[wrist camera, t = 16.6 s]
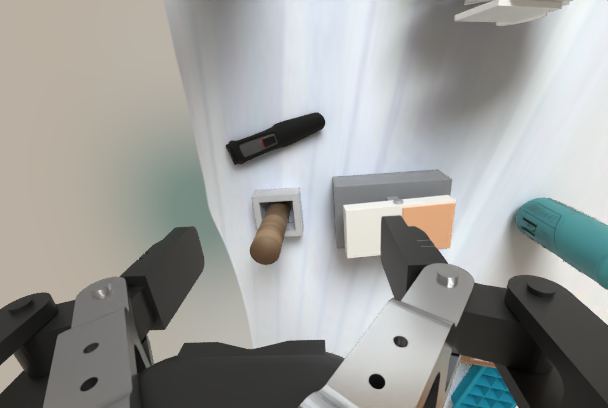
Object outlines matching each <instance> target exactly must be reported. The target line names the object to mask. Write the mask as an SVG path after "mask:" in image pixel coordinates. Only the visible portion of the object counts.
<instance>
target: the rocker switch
mask: <svg viewBox="0 0 608 408" xmlns="http://www.w3.org/2000/svg"><path fill="white" fill-rule="evenodd" d="M455 206H456V200H455V199H454V198H452V197H450V196H449V195H441V196H431V197H421V198H411V199H394V200H390V201H380V202H370V203H360V204H349V205H343V212H344V239H345V252H346V255H347V258H357V257H367V256H377V255H381V251H380V246H381V218H382V216H396V215H401V216H402V218H403V219H404V221H405V222H406V224H407V225H408V226H416V227H417V228H419V229H421V230H423V231H424V232H425V233H426V234H427V235H428V237H429V238H430V241H432V242H433V244H434V245H435V247H436V248H437V249H447V248H450V246H451V238H452V230H453V222H454V214H455Z"/></svg>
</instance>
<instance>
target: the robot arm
mask: <svg viewBox="0 0 608 408" xmlns="http://www.w3.org/2000/svg"><path fill="white" fill-rule="evenodd" d="M380 251H381V260H382V264H383V267H384V270H385V273H386V276H387V278H388V281H389V284H390V287H391V290H392V292H393V295H394V298H395V299H394V298H392V299H390V300H389V301H388V302H387V304H386V305H385V306H384V308H383V309H382V310H381V312H380V313H379V314H378V316H377V317H376V318H375V320H374V321H373V322H372V324H371V325H370V326H369V328H368V329H367V330H366V332H365V333H364V334H363V336H362V337H361V338H360V340H359V341H358V342H357V344H356V345H355V346H354V348H353V349H352V350H351V352H350V353H349V354H348V356H347V357H346V358H343V357H341V356H338V355H335V354H332V353H328V352H326V350H325V340H296V341H286V342H281V343H277V344H273V345H269V346H265V347H261V348H256V349H245V348H240V347H236V346H232V345H228V344H223V343H219V342H207V343H206V342H203V343H184V344H183V346H182V348H181V350H180V352H179V354H178V355H177V356H174V357H171V358H168V359H165V360H163V361H160V362H158V363H156V364H154V362H153V356H152V351H151V346H150V341H149V339H148V336H147V333H148V332H149V330H165V329H166V327H167V326H168V324H169V322H170V321H171V319H172V318H173V316H174V315H175V313H176V312H177V310H178V308H179V307H180V305H181V304H182V302H183V301H184V299H185V298H186V296H187V294H188V293H189V291H190V290H191V288H192V286H193V285H194V283H195V282H196V280H197V279H198V277H199V276H200V274H201V273H202V271H203V268H204V256H203V252H202V248H201V244H200V240H199V237H198V233H197V230H196V229H195V227H193V226H192V227H177V228H174V229H173V230H172V231H171V232H170V233H169V234H168V235H167V236H166V237H165V238H164V239H163V240H161V241H160V242H158V243H156V244H154V245H153V246H152V247H151V248H149V249H148V250H147V251H146V252H145V254H143V255H142V256H141V257H140V258H139V260H137V261H136V262H135V263H134V264H132V265H131V266H130V267H129V268H128V269H127V270H126V271H125V272H124V273H123V274H122V275H121V276H120V277H111V278H106V279H102V280H100V281H97V282H95V283H93V284H91V285H89V286H88V287H86V288H85V289H83V290H82V291H81V292H80V293H79V294H78V295H77V297H76V299H75V300H73V301H68V302H64V303H60V304H55V303H54V301H53V299H52V297H51V295H50V294H49V293H36V294H32V295H28V296H25V297H23V298H20V299H18V300H16V301H14V302H12V303H10V304H8V305H6V306H5V307H3V308H2V309H0V365H1V364H2V363H3V362H4V361H5V360H7V359H8V358H9V357H10V356H11V355H12V354H14V356H15V357H16V358H17V360H18V362H19V363H20V364H21V366H22V367H23V369H24V371H23V372H22V373H21V374H20V375H19V376H18V377H17V378H16V379H15V380H14V381H13V382H12V383H11V384H10V385H9V386H8V387H7V388H6V389H5V390H4V391H3V392H2V393H1V394H0V408H443V407H444V404H445V401H446V398H447V395H448V393H449V390H450V387H451V384H452V381H453V379H454V376H455V373H456V370H457V367H458V365H459V362H460V359H461V356H462V355H464V356H468V357H472V358H476V359H480V360H484V361H488V362H492V363H494V365H495V367H496V369H497V370H498V372H499V374H500V376H501V377H502V379H503V381H504V383H505V384H506V386H507V388H508V390H509V392H510V393H511V395H512V397H513V399H514V400H515V402H516V404H517V406H518V408H608V325H607V324H606V323H605V322H603V321H602V320H601V319H600V318H599V317H598V316H597V315H595V314H594V313H593V312H592V311H591V310H590V309H589V308H588V307H586V306H585V305H584V304H583V303H582V302H581V301H580V300H578V299H577V298H576V297H575V296H574V295H573V294H572V293H571V292H569V291H568V290H567V289H566V288H564V287H562V286H561V285H559V284H557V283H555V282H553V281H550V280H547V279H545V278H541V277H537V276H530V275H519V276H514V277H512V278H511V279H510V280H509V281H508V285H507V289H506V288H500V287H494V286H487V285H482V284H478V283H474V279H473V277H472V276H471V275H470V274H469V273H468V272H467V271H466V270H464V269H462V268H460V267H457V266H454V265H451V264H448V262H447V261H446V260H445V258H444V257H443V256H442V254H441V253H440V252H439V250H438V249H437V248H436V247H435V245H434V244H433V242H432V241H430V238H429V237H428V235H427V234H426V233H425V232H424V231H423V230H421V229H419V228H417V227H416V226H408V225H407V224H406V222H405V221H404V219H403V218H402V216H401V215H396V216H382V218H381V246H380Z"/></svg>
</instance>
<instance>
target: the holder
mask: <svg viewBox="0 0 608 408" xmlns="http://www.w3.org/2000/svg"><path fill="white" fill-rule="evenodd" d="M277 201H293V210H294V219H295V223H287V227H286V231H285V235H284V237H291V236H303V228H304V227H303V217H302V206H301V196H300V188H285V189H270V190H256V191H255V193H254V194H253V196H252V202H253V208H254V214H255V220H256V226H257V231H258V229H259V227H260V225H261V222H262V220H263V218H264V216H265V207H264V202H277Z"/></svg>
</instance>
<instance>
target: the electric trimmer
mask: <svg viewBox="0 0 608 408" xmlns="http://www.w3.org/2000/svg"><path fill="white" fill-rule="evenodd" d="M324 125H325V119H324V117H323V116H322V115H321V114H319V113H312V114H308V115H304V116H301V117H297V118H293V119H290V120H286V121H283V122H280V123H277V124H275V125H274V126H273V127H271V128H269V129H267V130H265V131H263V132H260V133H257V134H255V135H252V136H250V137H247V138H244V139H241V140H238V141H230V142H229V144H227V145H226V147H227V149H228V151H229V154H230V156H231V158H232V160H233V162H234V164H235V165H236V164H243V163H245V162H246V161H248V160H251V159H253V158H255V157H257V156H260V155H262V154H264V153H267V152H269V151H272V150H275V149H278V148H281V147H286V146H288V145H290V144H293V143H295V142H297V141H299V140H301V139H303V138H305V137H307V136H309V135H311V134H313V133H315V132H317V131H319V130H321V129H322V128H323V127H324Z"/></svg>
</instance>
